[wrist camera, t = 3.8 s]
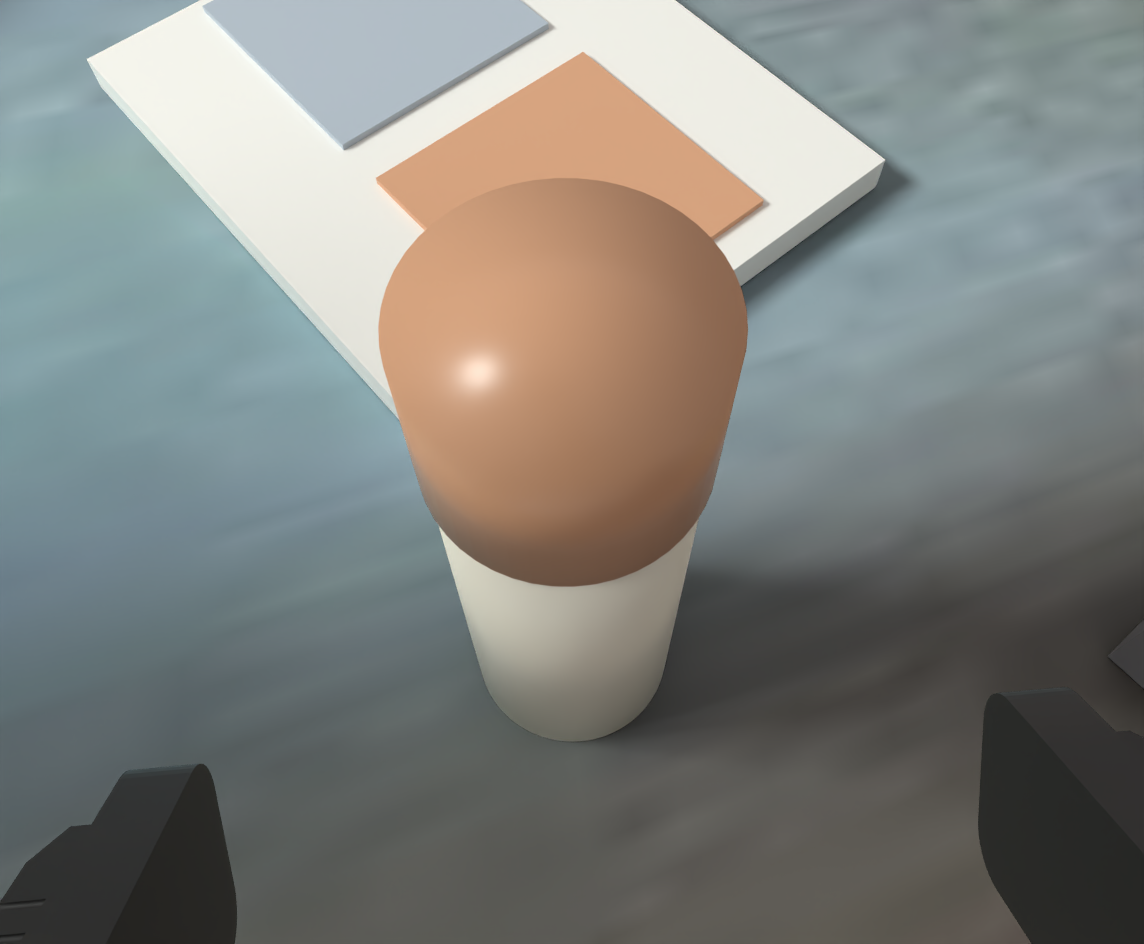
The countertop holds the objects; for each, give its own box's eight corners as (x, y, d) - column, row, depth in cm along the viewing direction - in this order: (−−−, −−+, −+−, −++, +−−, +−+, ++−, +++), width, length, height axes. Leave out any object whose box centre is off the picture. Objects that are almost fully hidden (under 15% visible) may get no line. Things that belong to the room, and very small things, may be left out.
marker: (560, 789, 21) (537, 559, 11) (434, 636, 23) (305, 302, 12) (711, 658, 23) (824, 334, 12) (583, 521, 24) (583, 126, 14)
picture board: (462, 490, 25) (457, 466, 23) (101, 87, 31) (83, 53, 30) (876, 186, 29) (887, 154, 28) (484, -117, 35) (481, -153, 34)
